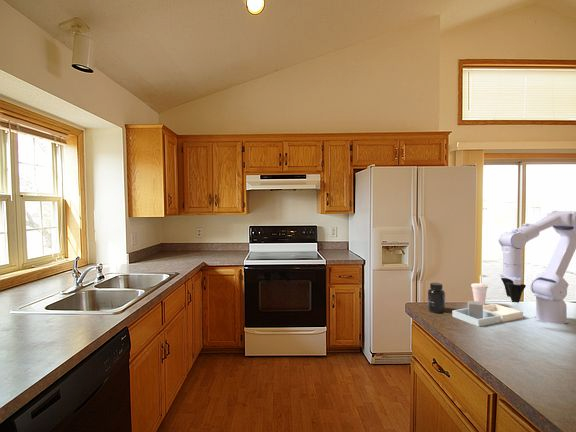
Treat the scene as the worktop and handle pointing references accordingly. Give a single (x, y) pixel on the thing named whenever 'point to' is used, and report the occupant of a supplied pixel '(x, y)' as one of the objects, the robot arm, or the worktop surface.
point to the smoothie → (479, 292)
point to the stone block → (475, 309)
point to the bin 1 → (486, 320)
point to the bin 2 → (503, 312)
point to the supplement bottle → (436, 298)
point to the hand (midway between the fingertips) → (512, 299)
